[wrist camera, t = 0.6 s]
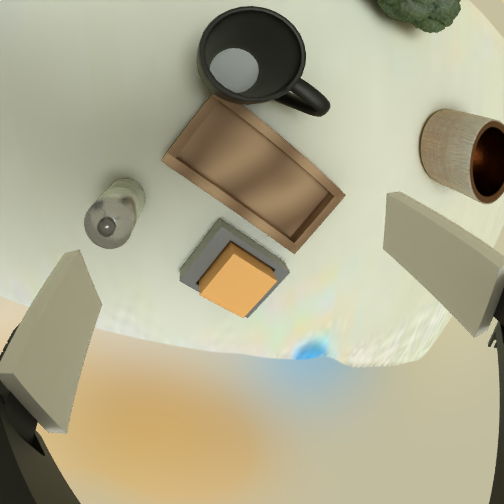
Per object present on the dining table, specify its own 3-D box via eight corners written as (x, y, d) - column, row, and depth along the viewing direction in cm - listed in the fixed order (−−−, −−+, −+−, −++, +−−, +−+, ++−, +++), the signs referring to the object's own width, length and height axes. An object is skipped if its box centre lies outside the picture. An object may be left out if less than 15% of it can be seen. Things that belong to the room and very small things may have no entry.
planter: (404, 142, 34) (456, 158, 25) (446, 93, 31) (498, 101, 23) (438, 196, 38) (483, 222, 30) (475, 150, 36) (520, 167, 27)
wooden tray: (163, 157, 30) (161, 161, 28) (216, 88, 27) (218, 87, 26) (289, 245, 37) (294, 254, 35) (337, 189, 35) (345, 195, 33)
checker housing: (180, 269, 36) (179, 280, 34) (219, 217, 34) (221, 226, 32) (244, 306, 40) (247, 318, 38) (284, 261, 38) (290, 272, 36)
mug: (270, 143, 31) (303, 152, 23) (177, 80, 26) (175, 62, 18) (312, 87, 30) (358, 79, 21) (225, 22, 25) (243, -12, 16)
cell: (100, 203, 31) (74, 235, 23) (119, 170, 29) (96, 193, 22) (131, 224, 32) (115, 260, 25) (152, 192, 31) (139, 221, 24)
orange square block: (198, 279, 35) (199, 294, 32) (230, 240, 34) (233, 253, 31) (239, 301, 38) (243, 318, 35) (270, 266, 36) (277, 281, 33)
